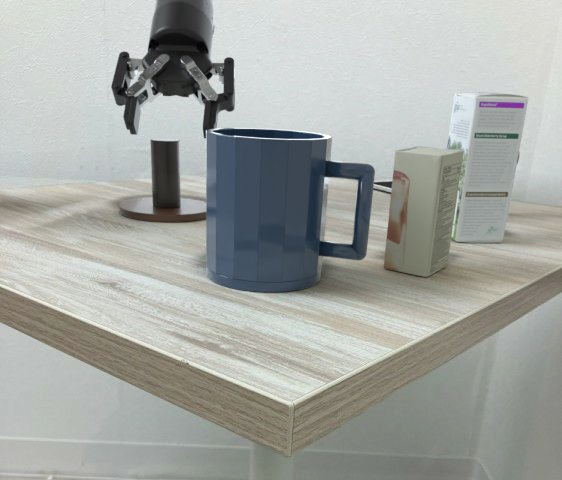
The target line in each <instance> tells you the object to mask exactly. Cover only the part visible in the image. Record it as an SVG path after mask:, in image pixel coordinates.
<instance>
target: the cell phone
mask: <svg viewBox="0 0 562 480" xmlns="http://www.w3.org/2000/svg"><path fill="white" fill-rule="evenodd" d="M392 180H393V178H392V179H391V178H389V179H374V188H373V189H375V190H379V191H382V192H387V193H390V194H391V190H392Z"/></svg>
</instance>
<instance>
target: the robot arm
mask: <svg viewBox="0 0 562 480" xmlns="http://www.w3.org/2000/svg"><path fill="white" fill-rule="evenodd" d="M152 12H153V13H152V19H151V25H150V32H149V39H148V45H147V51H146V54H145V55H144V56H143V57H142V58H134V57H131V56H130V53H129V52H128V51H121V52H120V53H119V54H118V58H117V60H116V61H117V62H116V65H115V70H114V74H113V77H112V82H111V92H112V95H113V98H114V102H115V104H116V105H117V106H118V107H122V106H124V111H123V116H122V118H123V121H124V124H125V125H124V126H125V128H126V130H127V131H128V130H129V133H130V135H133V136H134V135H135V136H136V135H137V136H138V134H139V126H140V119H141V113H142V111H141V109H142V107H144V106H145V105H146V104H147V103H153V102H154V101H155V100H156V99H158V98H159V97H160V96H161V95H162V97H174V96H178V97H181V98H190V96H193V97H194V98H195V100H196V101H197V102H198V103H199V104H200V105H201V106H203V107H204V110H203V118H202V132H203V133H202V134H203V139H206V130H210V129H218V120H219V113H220V112H222V111H226V112H228V113H231V112H234V110H235V108H236V70H235V59H234V58H233V57H230V56H228V57H226V58H224V60H223V62H213V61H212V60H211V58H212V57H211V55H212V46H213V38H214V37H213V36H214V33H215V27H216V25H215V15H216V14H215V0H155V1H154V4H153V11H152ZM140 72H141V73H140ZM138 73H140V74H139V75H138ZM137 76H138V77H137ZM213 76H216V77H217V80H218V81H219V82H220V83H221V85H223V92H221V93H217V91H216V90H215V88H213V86H211V84H210V82H209V81H210V80H211V79H212V78H213ZM136 77H137V80H136V81H135V79H136ZM132 80H133V81H135V82H134V83H133V84H132V85H131V82H132Z"/></svg>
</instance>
